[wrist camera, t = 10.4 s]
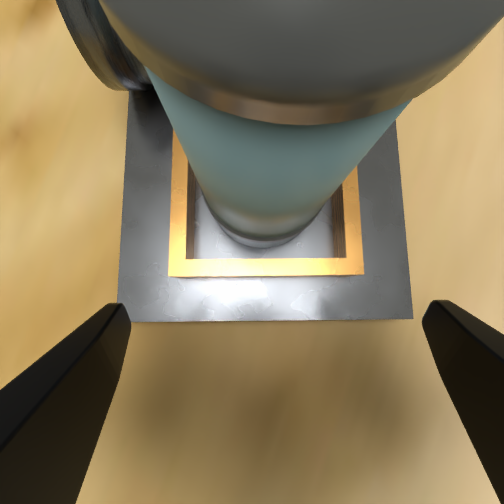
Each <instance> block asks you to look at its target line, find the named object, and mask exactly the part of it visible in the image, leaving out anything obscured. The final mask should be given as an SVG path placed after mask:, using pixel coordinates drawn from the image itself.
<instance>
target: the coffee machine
mask: <svg viewBox="0 0 504 504" xmlns="http://www.w3.org/2000/svg"><path fill="white" fill-rule="evenodd" d="M56 2H57V5H58V7H59V10H60V12H61V15H62V17H63V19H64V21H65V24H66V26H67V28H68V30H69V32H70V34H71V36H72V38H73V40H74V42H75V44H76V46H77V48H78V49H79V51H80V53H81V55H82V56H83V58H84V60H85V61H86V63H87V64H88V66H89V67H90V69H91V70H92V71H93V72H94V74H95V75H96V76H97V77H98V78H99V79H100V80H101V82H102V83H104V84H105V85H106V86H107V87H109V88H111V89H113V90H117V91H129V104H128V121H127V139H126V156H125V173H124V191H123V208H122V225H121V242H120V260H119V277H118V294H117V303H123V304H124V305H125V307H126V309H127V312H128V315H129V317H130V320H131V322H177V321H270V320H364V319H413V309H412V298H411V287H410V276H409V265H408V253H407V242H406V231H405V220H404V209H403V198H402V187H401V175H400V164H399V153H398V142H397V131H396V120H395V121H394V122H393V123H392V124H391V125H390V126H389V128H388V129H387V130H386V131H385V132H384V134H383V135H382V136H381V137H380V138H379V140H378V141H377V142H376V143H375V144H374V146H373V147H372V148H371V149H370V150H369V151H368V153H367V154H366V155H365V156H364V157H363V159H362V160H361V161H360V162H359V163H358V165H357V166H356V167H355V168H354V169H353V171H352V172H351V173H350V174H349V175H348V177H347V178H346V179H345V180H344V181H343V182H342V184H341V185H340V186H339V187H338V188H337V190H336V191H335V192H334V193H333V194H332V196H331V197H330V198H329V199H328V200H327V202H326V203H325V205H324V207H323V208H322V210H321V212H320V213H319V214H318V216H317V217H316V218H315V219H314V220H313V221H312V223H311V224H310V225H309V226H308V227H306V228H305V229H304V230H303V231H301V232H300V233H299V234H298V235H297V236H296V237H294V238H293V239H292V240H290V241H288V242H286V243H284V244H281V245H278V246H274V247H268V248H258V247H251V246H248V245H244V244H242V243H240V242H238V241H236V240H234V239H233V238H231V237H230V236H229V235H227V234H226V233H225V232H224V231H223V230H222V228H221V227H220V226H219V224H218V223H217V221H216V220H215V219H214V217H213V216H212V214H211V213H210V211H209V209H208V207H207V205H206V203H205V201H204V198H203V195H202V192H201V187H200V185H199V183H198V181H197V178H196V176H195V174H194V172H193V170H192V168H191V165H190V163H189V161H188V159H187V157H186V155H185V153H184V150H183V148H182V146H181V144H180V142H179V140H178V138H177V135H176V133H175V131H174V129H173V127H172V125H171V122H170V120H169V118H168V116H167V114H166V112H165V110H164V107H163V105H162V103H161V101H160V99H159V97H158V94H157V92H156V90H155V88H154V86H153V84H152V82H151V79H150V77H149V75H148V73H147V71H146V69H145V66H144V65H143V64H142V62H141V61H140V60H139V59H138V58H137V57H136V56H135V55H134V54H133V53H132V52H131V51H130V50H129V49H128V48H127V47H126V45H125V44H124V43H123V41H122V40H121V38H120V37H119V35H118V34H117V33H116V31H115V30H114V28H113V27H112V25H111V24H110V22H109V20H108V18H107V16H106V14H105V12H104V10H103V8H102V6H101V4H100V3H99V1H98V0H56Z"/></svg>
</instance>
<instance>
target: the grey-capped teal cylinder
mask: <svg viewBox="0 0 504 504" xmlns="http://www.w3.org/2000/svg"><path fill="white" fill-rule="evenodd" d="M98 1H99V3H100V4H101V6H102V8H103V10H104V12H105V14H106V16H107V18H108V20H109V22H110V24H111V25H112V27H113V28H114V30H115V31H116V33H117V34H118V35H119V37H120V38H121V40H122V41H123V43H124V44H125V45H126V47H127V48H128V49H129V50H130V51H131V52H132V53H133V54H134V55H135V56H136V57H137V58H138V59H139V60H140V61H141V62H142V64H143V65H144V66H145V69H146V71H147V73H148V75H149V77H150V79H151V82H152V84H153V86H154V88H155V90H156V92H157V94H158V97H159V99H160V101H161V103H162V105H163V107H164V110H165V112H166V114H167V116H168V118H169V120H170V122H171V125H172V127H173V129H174V131H175V133H176V135H177V138H178V140H179V142H180V144H181V146H182V148H183V150H184V153H185V155H186V157H187V159H188V161H189V163H190V165H191V168H192V170H193V172H194V174H195V176H196V178H197V181H198V183H199V185H200V187H201V192H202V195H203V198H204V201H205V203H206V205H207V207H208V209H209V211H210V213H211V214H212V216H213V217H214V219H215V220H216V221H217V223H218V224H219V226H220V227H221V228H222V230H223V231H224V232H225V233H226V234H227V235H229V236H230V237H231V238H233V239H234V240H236V241H238V242H240V243H242V244H244V245H248V246H251V247H258V248H268V247H274V246H278V245H281V244H284V243H286V242H288V241H290V240H292V239H293V238H294V237H296V236H297V235H298V234H299V233H300V232H301V231H303V230H304V229H305V228H306V227H308V226H309V225H310V224H311V223H312V221H313V220H314V219H315V218H316V217H317V216H318V214H319V213H320V212H321V210H322V208H323V207H324V205H325V203H326V202H327V200H328V199H329V198H330V197H331V196H332V194H333V193H334V192H335V191H336V190H337V188H338V187H339V186H340V185H341V184H342V182H343V181H344V180H345V179H346V178H347V177H348V175H349V174H350V173H351V172H352V171H353V169H354V168H355V167H356V166H357V165H358V163H359V162H360V161H361V160H362V159H363V157H364V156H365V155H366V154H367V153H368V151H369V150H370V149H371V148H372V147H373V146H374V144H375V143H376V142H377V141H378V140H379V138H380V137H381V136H382V135H383V134H384V132H385V131H386V130H387V129H388V128H389V126H390V125H391V124H392V123H393V122H394V121H395V119H396V118H397V117H398V116H399V115H400V113H401V112H402V111H403V110H404V109H405V107H406V106H407V105H408V104H409V103H410V101H411V100H412V99H413V98H415V97H417V96H419V95H420V94H422V93H423V92H425V91H426V90H428V89H429V88H431V87H432V86H434V85H435V84H437V83H439V82H440V81H441V80H442V79H444V78H445V77H446V76H447V75H448V74H449V73H450V72H451V71H453V70H454V69H455V68H456V67H457V66H458V65H459V64H460V63H461V62H462V61H463V60H464V59H465V58H466V57H467V56H468V55H469V54H470V53H471V51H472V50H473V49H474V48H475V47H476V46H477V45H478V44H479V43H480V42H481V41H482V39H483V38H484V37H485V36H486V35H487V34H488V33H489V32H490V31H491V30H492V29H493V27H494V26H495V25H496V24H497V23H498V22H499V21H500V20H501V19H502V18H503V17H504V0H98Z"/></svg>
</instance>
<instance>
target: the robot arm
mask: <svg viewBox="0 0 504 504" xmlns="http://www.w3.org/2000/svg"><path fill="white" fill-rule="evenodd" d="M422 327H423V330H424V332H425V335H426V338H427V341H428V344H429V346H430V349H431V352H432V355H433V358H434V360H435V363H436V366H437V369H438V371H439V374H440V376H441V379H442V381H443V383H444V385H445V387H446V389H447V391H448V394H449V396H450V398H451V400H452V402H453V404H454V406H455V408H456V410H457V412H458V415H459V417H460V419H461V421H462V423H463V425H464V427H465V429H466V431H467V434H468V436H469V438H470V440H471V442H472V444H473V446H474V448H475V450H476V452H477V455H478V457H479V459H480V461H481V463H482V465H483V467H484V469H485V471H486V473H487V476H488V478H489V480H490V482H491V484H492V486H493V488H494V490H495V492H496V495H497V497H498V499H499V501H500V503H501V504H504V335H503V334H502V333H500V332H499V331H497V330H496V329H494V328H492V327H491V326H489V325H488V324H486V323H484V322H483V321H481V320H480V319H478V318H476V317H475V316H473V315H472V314H470V313H468V312H467V311H465V310H464V309H462V308H460V307H459V306H457V305H456V304H454V303H452V302H451V301H449V300H433V301H432V302H431V303H430V304H429V306H428V308H427V310H426V312H425V314H424V316H423V318H422ZM130 332H131V320H130V317H129V315H128V312H127V309H126V307H125V305H124V304H123V303H108V304H107V305H105V306H104V307H103V308H101V309H100V310H99V311H98V312H96V313H95V314H94V315H93V316H91V317H90V318H89V319H88V320H87V321H85V322H84V323H83V324H82V325H80V326H79V327H78V328H77V329H75V330H74V331H73V332H72V333H70V334H69V335H68V336H67V337H65V338H64V339H63V340H62V341H60V342H59V343H58V344H57V345H55V346H54V347H53V348H52V349H50V350H49V351H48V352H47V353H45V354H44V355H43V356H42V357H40V358H39V359H38V360H37V361H36V362H34V363H33V364H32V365H31V366H29V367H28V368H27V369H26V370H24V371H23V372H22V373H21V374H19V375H18V376H17V377H16V378H14V379H13V380H12V381H11V382H9V383H8V384H7V385H6V386H4V387H3V388H2V389H1V390H0V504H76V501H77V498H78V495H79V492H80V490H81V487H82V484H83V481H84V478H85V475H86V472H87V470H88V467H89V464H90V461H91V458H92V455H93V453H94V450H95V447H96V444H97V441H98V438H99V436H100V433H101V430H102V427H103V424H104V421H105V419H106V416H107V413H108V410H109V407H110V404H111V402H112V399H113V396H114V393H115V390H116V387H117V384H118V381H119V378H120V374H121V370H122V366H123V362H124V357H125V353H126V349H127V345H128V340H129V336H130Z"/></svg>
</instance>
